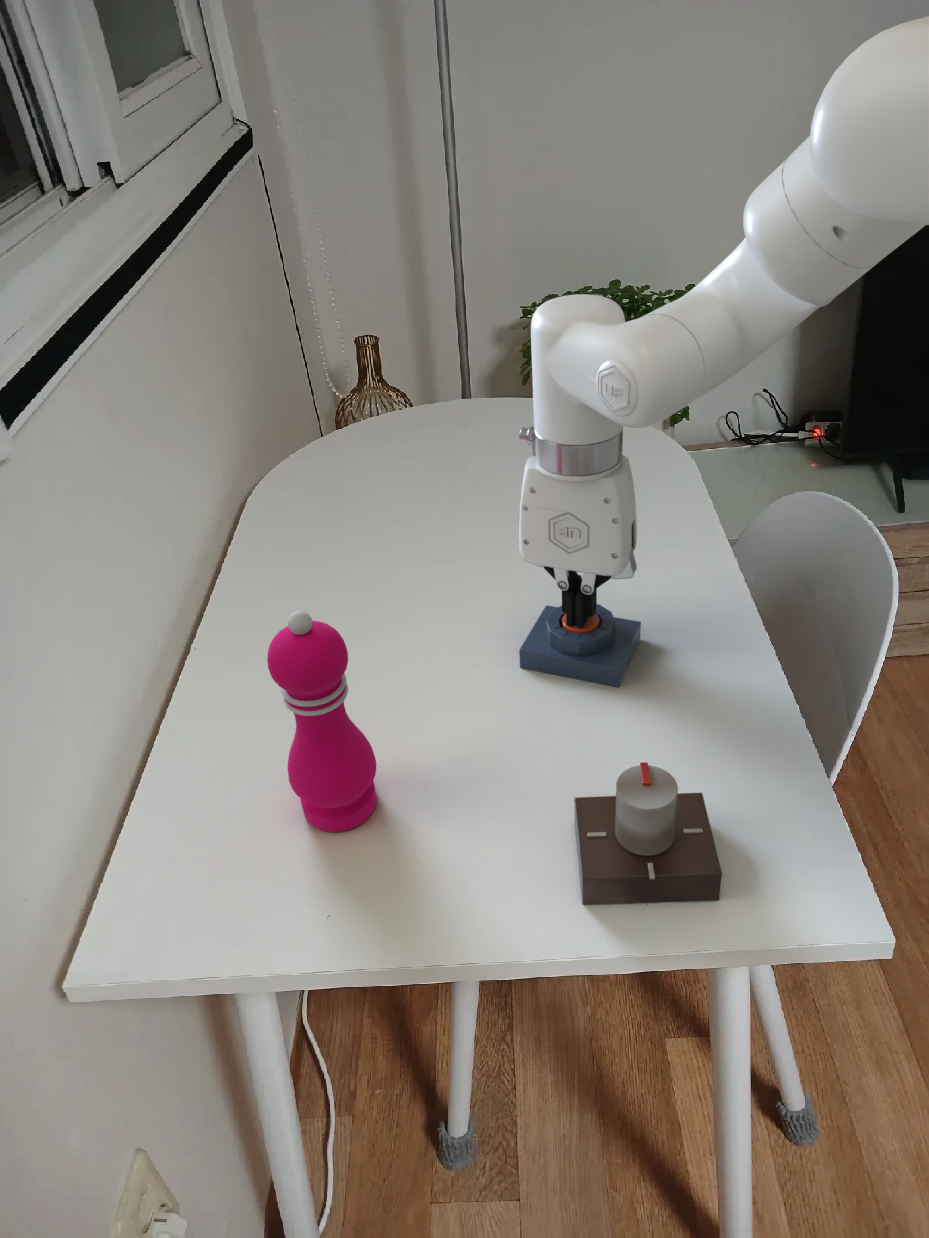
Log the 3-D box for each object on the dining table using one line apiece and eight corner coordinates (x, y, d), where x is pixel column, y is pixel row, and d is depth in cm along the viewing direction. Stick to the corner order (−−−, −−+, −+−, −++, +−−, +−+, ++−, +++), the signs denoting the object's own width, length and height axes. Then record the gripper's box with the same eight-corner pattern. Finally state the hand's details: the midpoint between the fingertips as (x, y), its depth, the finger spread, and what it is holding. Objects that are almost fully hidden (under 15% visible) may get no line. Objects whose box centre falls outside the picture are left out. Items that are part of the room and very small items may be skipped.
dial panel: (698, 815, 77) (701, 787, 75) (720, 903, 70) (723, 875, 68) (574, 820, 77) (573, 792, 75) (582, 908, 70) (582, 880, 68)
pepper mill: (303, 847, 77) (252, 652, 66) (293, 786, 83) (244, 597, 71) (390, 824, 78) (355, 629, 67) (374, 766, 84) (339, 577, 73)
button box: (640, 639, 96) (641, 606, 94) (618, 687, 90) (619, 654, 88) (546, 622, 100) (545, 590, 97) (519, 667, 94) (518, 635, 92)
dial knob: (678, 855, 70) (682, 805, 67) (617, 856, 70) (618, 806, 67) (670, 810, 73) (673, 761, 70) (612, 811, 74) (613, 762, 71)
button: (603, 626, 94) (603, 612, 93) (593, 647, 92) (593, 633, 91) (568, 620, 96) (568, 606, 95) (557, 641, 93) (557, 626, 92)
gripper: (481, 455, 82) (493, 627, 93) (653, 477, 77) (645, 656, 87) (512, 420, 87) (520, 585, 98) (675, 437, 82) (664, 610, 93)
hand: (579, 618), depth 93 cm, fingers closed
